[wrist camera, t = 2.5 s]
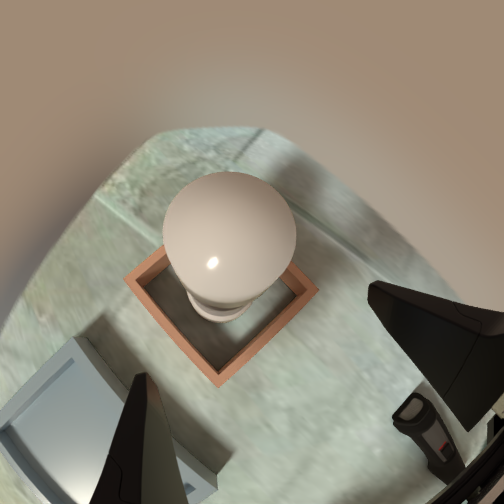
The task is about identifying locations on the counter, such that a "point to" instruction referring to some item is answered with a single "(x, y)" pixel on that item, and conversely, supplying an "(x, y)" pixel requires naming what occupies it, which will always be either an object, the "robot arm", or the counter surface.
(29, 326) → the counter surface
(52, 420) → the parts tray
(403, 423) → the electric trimmer
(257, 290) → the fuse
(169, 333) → the socket ring
